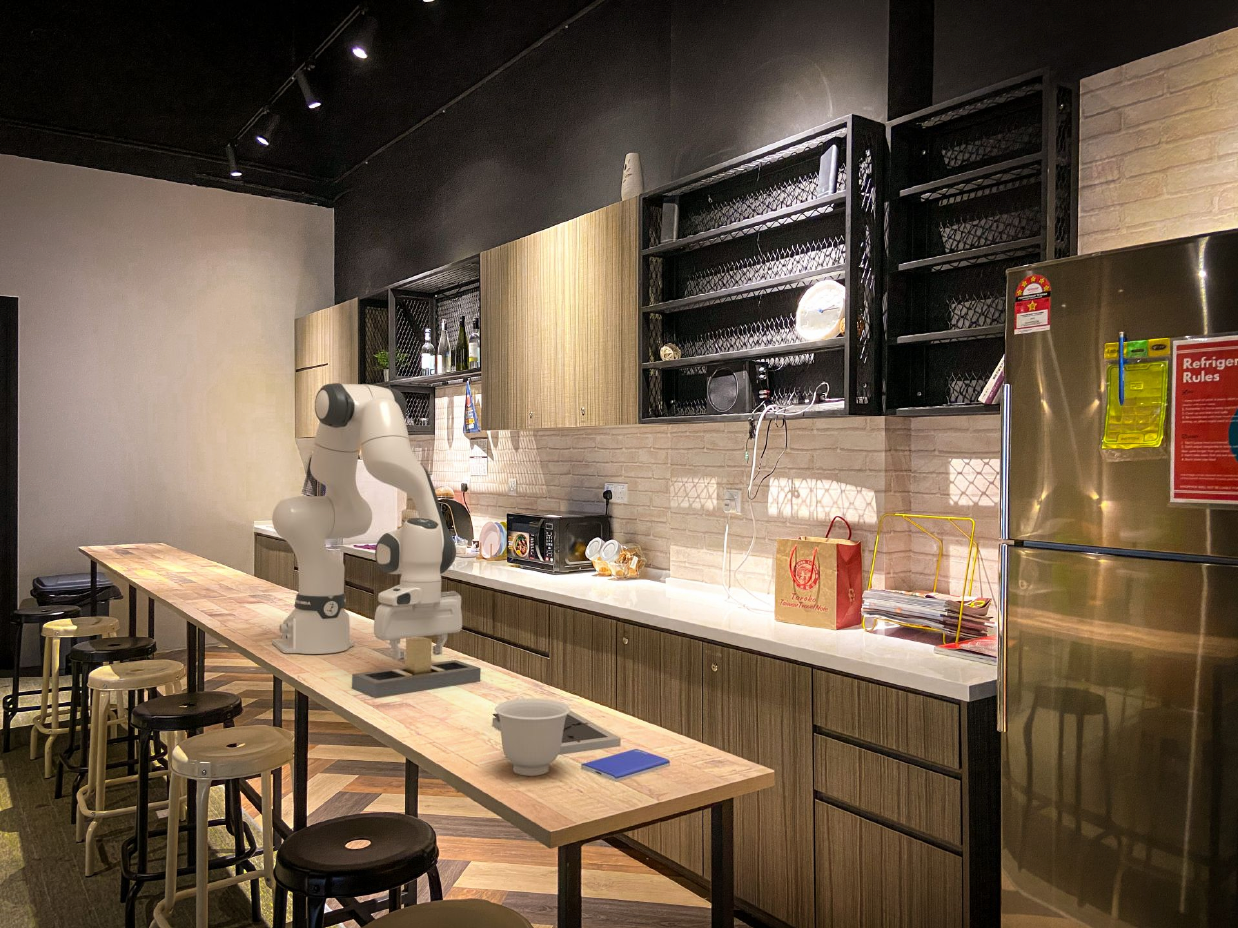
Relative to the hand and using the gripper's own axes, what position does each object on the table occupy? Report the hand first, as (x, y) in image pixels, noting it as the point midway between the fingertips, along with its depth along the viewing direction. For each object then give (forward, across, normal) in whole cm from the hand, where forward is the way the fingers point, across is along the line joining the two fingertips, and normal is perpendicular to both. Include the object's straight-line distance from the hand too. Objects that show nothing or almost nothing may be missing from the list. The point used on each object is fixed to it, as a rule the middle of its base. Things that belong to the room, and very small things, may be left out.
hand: (418, 656), depth 204 cm
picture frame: (+7, 0, +48) cm, 48 cm away
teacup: (+6, +14, +59) cm, 61 cm away
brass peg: (+6, 0, 0) cm, 6 cm away
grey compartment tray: (+6, 0, 0) cm, 6 cm away
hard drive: (+7, +1, +68) cm, 69 cm away
